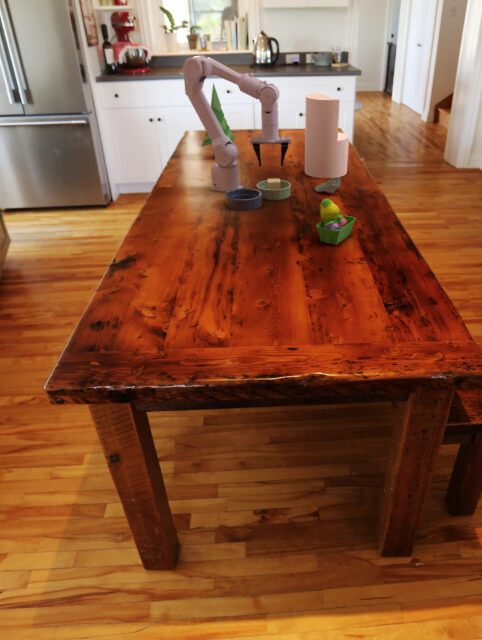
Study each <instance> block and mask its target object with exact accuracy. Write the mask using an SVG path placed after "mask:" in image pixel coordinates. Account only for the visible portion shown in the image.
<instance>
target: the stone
mask: <svg viewBox="0 0 482 640" xmlns="http://www.w3.org/2000/svg"><path fill="white" fill-rule="evenodd" d="M340 187H341V177H336V178H330V180H327V181H326V182H323V183H320V184H318V185H317V186H315V187H314V191H315V192H318V193H322V194H329V195H333V194H334V193H335V192H336V191H338V190H339V188H340Z"/></svg>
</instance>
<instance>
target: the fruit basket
mask: <svg viewBox="0 0 482 640" xmlns="http://www.w3.org/2000/svg"><path fill="white" fill-rule="evenodd" d="M340 212H341V211H340V207H339V206H338V205H337V204H336V203H335V202H333V201H332V200H331V199H329V198H323V199H322V200H321V203H320V217H321V219H322V220H321V221H320V222H319V223H317V224H316V229H317V233H318V235H319V239H320V242H322V243H326V244H330V245H334V246H337V245H338V244H339V243H341V242H342V241H343V240H345V239H346V238H347V237H348V236H350V235H351V233H352V229H353V226H354V224H355V221H356V217H353V216H349V215H344V214H340Z"/></svg>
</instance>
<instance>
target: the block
mask: <svg viewBox="0 0 482 640" xmlns="http://www.w3.org/2000/svg"><path fill="white" fill-rule="evenodd" d="M266 180H268V189H270V190H276V189H281V187H280V180H281V178H267V179H266Z"/></svg>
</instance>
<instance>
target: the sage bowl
mask: <svg viewBox="0 0 482 640" xmlns="http://www.w3.org/2000/svg"><path fill="white" fill-rule="evenodd" d="M280 187H281V189H276V190H270V189H268V180H267V179H266V180H261V181H259V182H257V183H256V190H259V191H260V192H261V193H262V200H267V201H280V200H285V199H288V198H290V197H291V196H292V183H291V182H289V181H287V180H284V179H280Z"/></svg>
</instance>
